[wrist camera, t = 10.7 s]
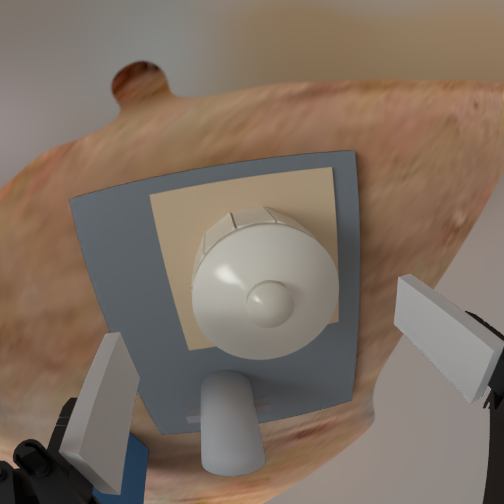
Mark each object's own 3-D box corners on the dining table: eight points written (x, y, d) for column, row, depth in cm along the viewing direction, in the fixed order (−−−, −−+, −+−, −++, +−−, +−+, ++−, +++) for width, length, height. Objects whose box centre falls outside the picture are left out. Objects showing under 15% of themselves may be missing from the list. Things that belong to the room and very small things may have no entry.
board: (162, 426, 27) (156, 498, 18) (76, 196, 19) (0, 228, 10) (347, 393, 28) (382, 457, 19) (347, 150, 20) (428, 154, 11)
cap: (171, 260, 19) (158, 300, 14) (266, 183, 19) (289, 195, 13) (245, 335, 22) (256, 388, 17) (331, 271, 21) (367, 309, 16)
